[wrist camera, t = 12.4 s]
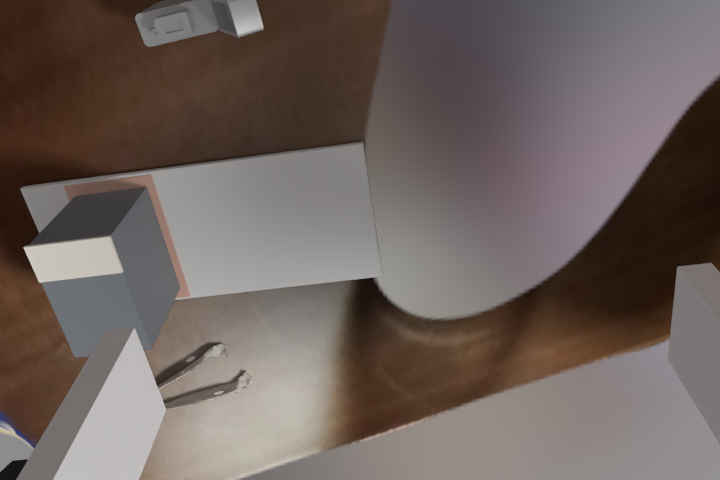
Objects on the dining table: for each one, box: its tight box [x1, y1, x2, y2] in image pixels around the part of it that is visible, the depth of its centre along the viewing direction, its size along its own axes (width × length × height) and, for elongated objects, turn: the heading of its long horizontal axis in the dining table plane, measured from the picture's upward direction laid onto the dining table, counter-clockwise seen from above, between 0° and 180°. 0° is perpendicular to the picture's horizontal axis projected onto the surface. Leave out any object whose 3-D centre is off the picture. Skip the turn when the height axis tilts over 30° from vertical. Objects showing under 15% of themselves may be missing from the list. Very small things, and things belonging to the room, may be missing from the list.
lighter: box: [135, 0, 264, 47], centre depth 34 cm, size 7×2×8 cm, turn 103°
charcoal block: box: [23, 187, 180, 357], centre depth 42 cm, size 8×5×7 cm, turn 8°
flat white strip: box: [20, 142, 383, 300], centre depth 45 cm, size 23×10×1 cm, turn 98°
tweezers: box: [157, 343, 253, 410], centre depth 53 cm, size 17×5×2 cm, turn 119°
